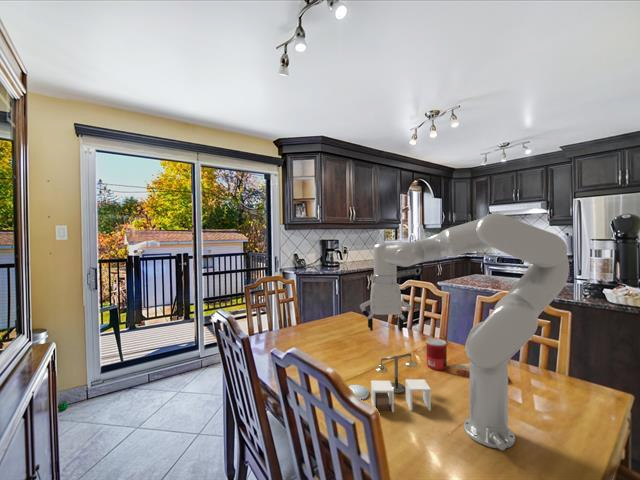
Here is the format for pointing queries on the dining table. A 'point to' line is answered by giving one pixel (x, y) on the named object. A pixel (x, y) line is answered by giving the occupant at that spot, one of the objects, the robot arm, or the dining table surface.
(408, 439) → the dining table surface
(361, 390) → the dish
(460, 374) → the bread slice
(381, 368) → the balance
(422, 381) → the cover
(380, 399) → the block
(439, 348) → the canned food
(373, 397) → the cover
